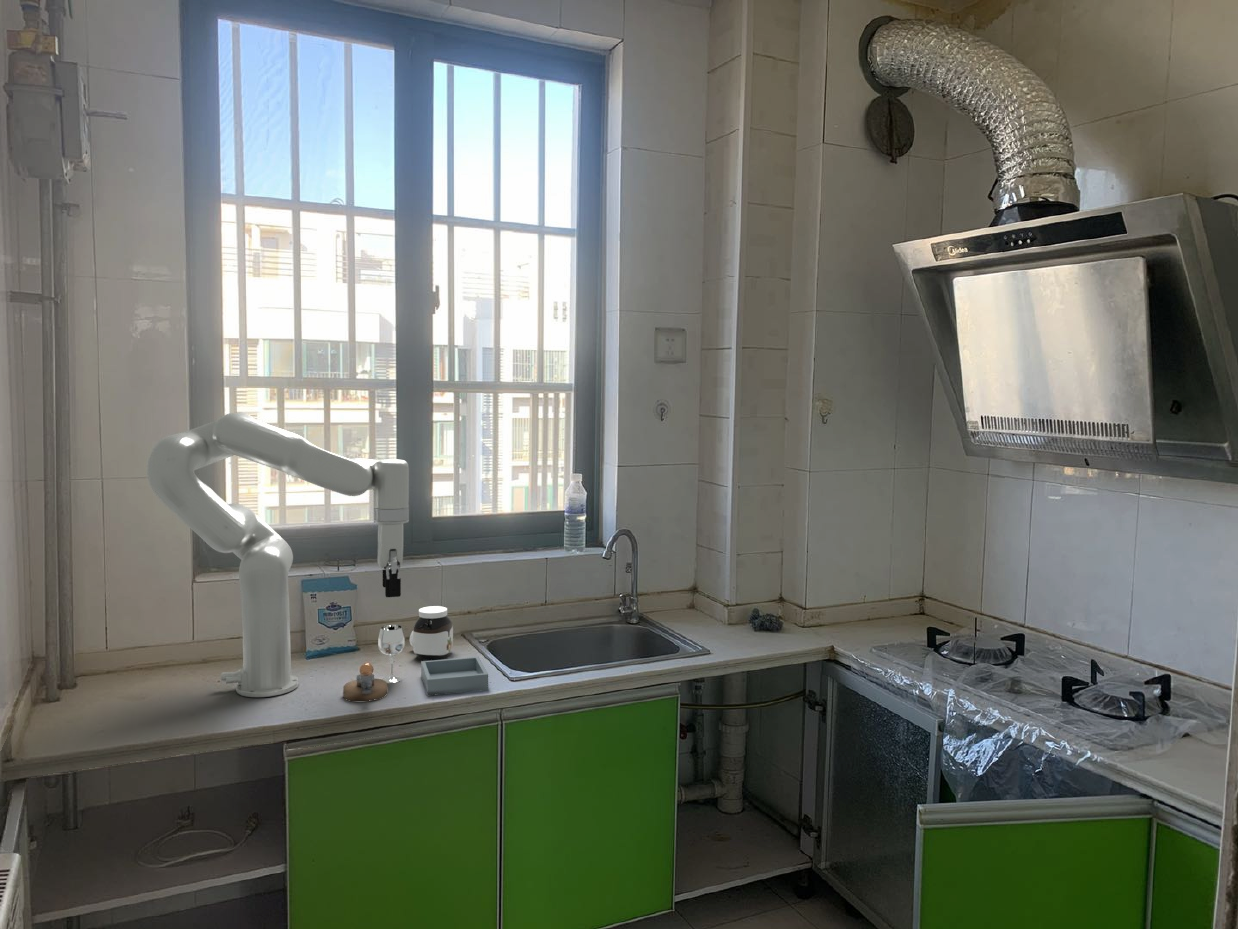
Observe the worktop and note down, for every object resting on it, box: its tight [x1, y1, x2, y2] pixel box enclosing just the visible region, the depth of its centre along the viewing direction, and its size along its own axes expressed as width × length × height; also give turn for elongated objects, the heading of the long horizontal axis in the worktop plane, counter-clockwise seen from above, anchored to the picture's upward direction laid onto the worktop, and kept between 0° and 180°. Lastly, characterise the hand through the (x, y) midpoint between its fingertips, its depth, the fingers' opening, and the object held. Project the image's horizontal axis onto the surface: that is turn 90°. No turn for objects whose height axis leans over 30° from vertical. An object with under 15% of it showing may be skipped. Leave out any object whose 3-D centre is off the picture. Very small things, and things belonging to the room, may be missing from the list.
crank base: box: [342, 678, 388, 702], centre depth 186 cm, size 9×9×2 cm
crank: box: [356, 662, 375, 694], centre depth 182 cm, size 10×4×7 cm, turn 18°
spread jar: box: [409, 605, 454, 661], centre depth 214 cm, size 12×11×12 cm
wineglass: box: [377, 624, 406, 684], centre depth 195 cm, size 6×6×12 cm
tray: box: [420, 656, 489, 696], centre depth 194 cm, size 13×13×4 cm
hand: (391, 591), depth 194 cm, fingers open, 9 cm apart
